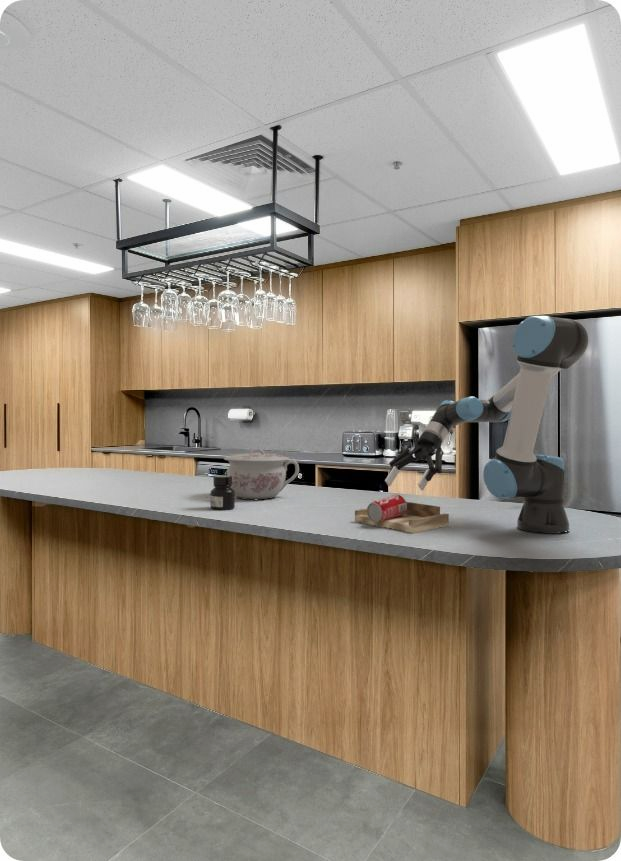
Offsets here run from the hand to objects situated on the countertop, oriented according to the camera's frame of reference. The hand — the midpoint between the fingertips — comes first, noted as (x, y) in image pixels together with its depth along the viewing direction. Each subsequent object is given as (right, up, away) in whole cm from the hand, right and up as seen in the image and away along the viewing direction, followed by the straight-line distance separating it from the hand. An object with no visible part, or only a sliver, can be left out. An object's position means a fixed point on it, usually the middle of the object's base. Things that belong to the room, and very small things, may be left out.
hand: (403, 485), depth 193 cm
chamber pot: (-53, -11, +57) cm, 78 cm away
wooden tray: (-1, -12, 0) cm, 12 cm away
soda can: (0, -7, +3) cm, 7 cm away
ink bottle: (-63, -11, +28) cm, 69 cm away
